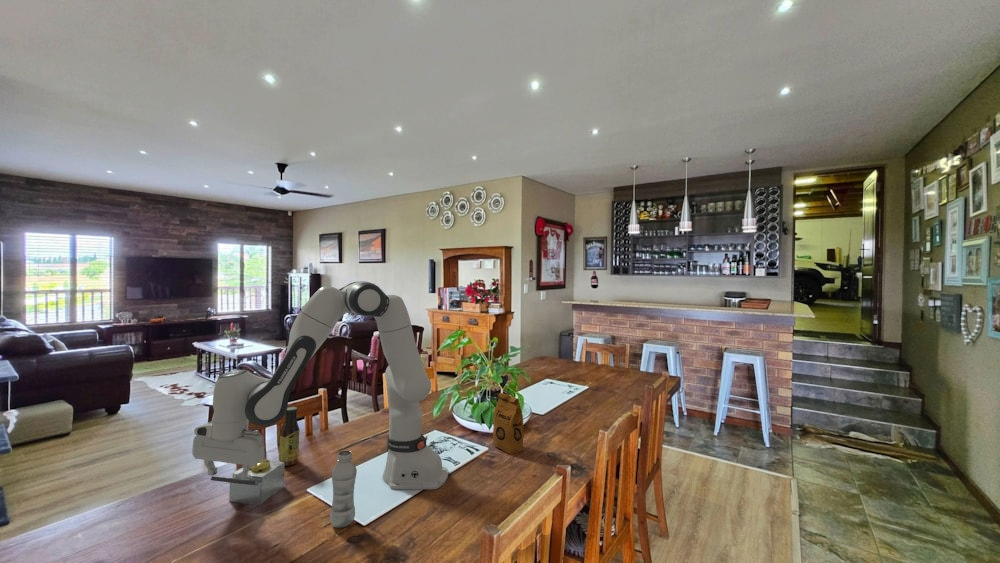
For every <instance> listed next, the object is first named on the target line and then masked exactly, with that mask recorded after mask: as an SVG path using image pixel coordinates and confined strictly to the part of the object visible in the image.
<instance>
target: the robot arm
mask: <svg viewBox="0 0 1000 563" xmlns="http://www.w3.org/2000/svg"><path fill="white" fill-rule="evenodd" d="M348 313H352V314H354V315H357V316H361V317H367V318H368V317H369V318H370V317H373V318H374V320H375V322H376V326H377V330H378V335H379V340H380V343H381V349H382V352H383V355H384V357H385V359H386V362H387V364H388V365H387V367H386V369H385V372H384V378H385V382H386V393H387V394H386V395H387V403H388V414H389V420H388V422H389V423H388V435H387V440H386V441H387V442H386V450H387V455H386V463H385V466H384V470H383V474H382V479H383V481H384V483H387V484H388V486H389V488H390V489H392V490H437V489H438V488H440V487H442V486H444V484H445V483H446V481H447V480H448V478H449V469H448V468H447V467H445V466H443V462H442V458H441V456H440V454H438V453H437V452H435V451H434V450H433V449H432V448H431V447H429V446H428V445H427V440H428V436H429V435H426V436H424V435H423V432H422V421H423V420H422V418H423V417H422V416H423V412H422V408H421V404H420V402H422V401H423V400H425V399H427V397H428V396H429V394H430V392H431V389H432V384H431V383H432V382H431V380H430V377H429V376H428V374H427V371H426V369H425V365H424V362H423V360H422V358H421V355H420V352H419V349H418V347H417V344H416V340H415V336H414V335H415V334H414V331H413V327H412V326H413V325H412V322H411V318H410V314H409V311H408V309H407V305H406V304H405V302H404V300H403V298H402V297H401V296H399V295H395V294H388V295H387V294H386V293H385V292H384V291H383V290H382V289H381V288H380V286H378V285H377V284H375V283H372V282H370V281H364V280H360V281H359V280H358V281H353V282H351V283H348V284H346V285H344V286H343V287H340V288H337V287H333V286H328V285H324V286H322V287H320V288H318V289H317V291H316V292H314V294H313V295H312V296H310V298H309V299H308V300H307V301H306V303H304V305H303V307H302V308H301V310H300V311H299V312H298V314H297V315H296V317H295V319H294V321H293V324H292V326H291V329H290V331H289V337H288V345H287V349H286V351H285V354H284V357H283V359H282V360H281V361H280V363H279V365H277V368H276V369H275V371H274V373H273V374H272V376H271V378H267V377H263V376H259V375H256V374H254V373H252V372H250V371H249V370H247V369H236V370H231V371H227V372H224V373H223V374H221V375H220V376H219V377H218V378H217V379H216V382H215V383H214V388H213V396H212V408H213V414H212V418H211V421H208V422H206V423H203V424H201V425H199V426H196V427H195V428H194V432H193V433H194V435H195V436H194V438H193V441H192V450H191V451H192V452H191V454H192V456H193V458H194V460H195V459H196V460H202V461H203V460H204V466H205V467H206V469H207V476H211V477H212V476H213V477H214V475H217V474H218V467H217V466H216V465H215V463H214V462H219V463H225V464H235V465H241V468H244V469H243V471H242V472H240V473H239V474H238V476H239V477H238V479H241V480H244V479H246V478H247V476H248V471H249V469H250V468H251V466H256V465H257V464H259V463H261V462H262V461H263V460H264V459H265V444H264V435H262V433H260V431H258V430H250V429H249V423H251V424H253V425H255V426H259V427H266V426H267V427H268V426H272V425H274V424H277V423H278V422H279V421H281V419H283V418H284V417H285V413H286V411H287V408H289V399H290V398H289V397H290V394H291V392H292V390H293V389H294V387H295V384H296V383H297V382H298V379H300V376H301V374H302V373H303V371H304V370H305V369H306V366H307V364H308V363H309V361H310V360H312V358H313V356H314V355H315V354H316V353H317V351H318V350H319V349H320V347H321V346H322V345H323V344H324V342H325V341H326V340H327V339H328V338H329V336H330V335H331V333H332V332H333V330H334V329H335V326H336V325H337V323H338V322H339V320H340V319H341V318H342V317H343V316H344V315H346V314H348Z"/></svg>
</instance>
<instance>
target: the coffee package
mask: <svg viewBox="0 0 1000 563" xmlns="http://www.w3.org/2000/svg"><path fill="white" fill-rule="evenodd" d="M492 426H493V431H492V434H493V435H492V438H493V439H492V446H495V447H497V448H499V449H500V450H502V451H503V452H505V453H508V454H509V455H512V456H513V455H514V454H515V455H516V454H518V453H522V452H523V451H524V437H525V436H524V435H525V430H524V416H523V412H522V408H521V403H520V400H519V398H517V397H515V396H513V395H510V394H507V393H502V392H499V394H498V401H497V402H496V405H495V408H494V411H493V425H492Z"/></svg>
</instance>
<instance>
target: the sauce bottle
mask: <svg viewBox="0 0 1000 563" xmlns="http://www.w3.org/2000/svg"><path fill="white" fill-rule="evenodd" d="M297 413H298V407H297V406H288V407H287V411H286V413H285V415H284V422H283V424H282V425H281V427H280V436H279V450H278V451H279V452H278V453H279V454H278V458H279V459H278V460H279V462H285V463H284V467H287V466H292V465H295V464H296V463H297V462H298V460H299V459H298V458H299V450H300V448H299V447H300V433H301V432H300V427H299V424H298V420H297V415H298V414H297Z"/></svg>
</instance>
